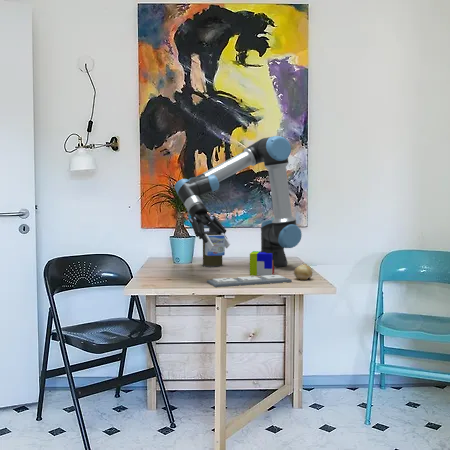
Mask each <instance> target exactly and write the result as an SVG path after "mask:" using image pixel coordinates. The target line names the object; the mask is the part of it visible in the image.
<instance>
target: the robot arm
mask: <svg viewBox="0 0 450 450" xmlns="http://www.w3.org/2000/svg"><path fill="white" fill-rule="evenodd" d="M291 152H292V146H291V144H290V142H289V140H288V139H286V138H285V137H284V136H279V135H274V136H269V137H263V138H261V139H259V140H256V141H255V142H253V143H252V144H251V145H248V146H247V147H246V148H244V149H243V151H242V152H241V153H238V154H237V155H234V156H233V157H231V158H229V159H227V160H225V161H223V162H221V163H220V164H217V165H215V166H213V167H211V168H210V169H208V170H206V171H204V172H202V173H201V174H199V175H197V176H194V177H190V178H189V179H187V178H181V179H179V180H178V181H176V183H175V185H174V191H176V194H177V196H178V197H179V199H180V200H181V202H182V203H183V205H184V207H185V209H186V210H187V212H188V214H189V216H190V218H189V220H188V222H189V223H190V224H191V226H192V229H193V232H194V235H195V237H196V238H198V239H199V240H202V242H203V241H204V243H206V245H207V247H208V248H209V250H211V249H212V248H213V246H214V245H213V244H212V242H211V240H210V239H209V237H208V235H207V234H205V226H207V228H209V227H210V228H211V229H213V230H214V231H215V232H216V233H217V234H218V235H224V236H225V249H228V248H229V247H230V245H231V243H230V241H229V240H228V237H227V235H226V233H227V229H226V228H225V227H224V226H223V224H222V223H220V221H219V219H217V216H215V215H212V216H210V214H209V213H208V209H207V208H206V206H205V204H204V203H203V201H202V199H201V198H200V197H202V196H204V195H207V194H210V193H214V192H215V191H218V190H219V189H220V182H222V181H223V180H225V179H227V178H229V177H232V176H233V175H235V174H237V173H239V172H240V171H242V170H244V169H247V168H248V167H250V166H252V167H254V166H256V165H258V164H261V163H264V165H263V166H264V167H265V168H266V169H267V170H268V178H269V185H270V192H271V200H272V208H273V209H272V210H273V216H274V218H273V219H271V220H264V221H262V222H261V225H260V226H261V227H260V237H261V238H260V242H261V243H260V246H261V247H260V251H264V252H274V268H282V267H287V266H288V259H287V256H286V253H285V249H293V248H294V247H296V246H298V245H299V243H300V242H301V240H302V236H303V235H302V234H303V233H302V230H301V228H300V227H299V226H298V225H297V220H296V218H295V217H294V216H293V213H292V205H291V198H290V197H291V196H290V189H289V188H290V187H289V182H288V174H287V166H288V164H289V157H290V155H291ZM204 234H205V235H204Z"/></svg>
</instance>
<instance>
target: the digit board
mask: <svg viewBox="0 0 450 450" xmlns="http://www.w3.org/2000/svg"><path fill="white" fill-rule="evenodd" d="M283 282H287V283H292V282H293V280H292V279H290V278H287V277H285V276H283V275H279V274H273V275H265V276H253V275H249V276H237V277H235V278H232V277H218V278H212V279H206V283H207V284H208V285H211V286H212V285H213V287H215V288H225V287H236V286H237V287H238V286H239V285H241V286H252V285H253V286H254V285H255V284H257V285H271V284H270V283H272V284H284V283H283Z"/></svg>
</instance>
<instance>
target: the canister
mask: <svg viewBox="0 0 450 450" xmlns="http://www.w3.org/2000/svg"><path fill="white" fill-rule="evenodd" d="M204 231H205V230H204ZM205 234H207V235H218V234H217V233H216V232H215V231H214V230H213V229H211V228H210V227H208V231H207V230H206V231H205ZM205 234H204V235H205ZM204 266H205V267H206V268H218V267H223V256H207V255H205V243H204V241H203V240H202V267H204Z"/></svg>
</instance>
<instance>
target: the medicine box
mask: <svg viewBox="0 0 450 450" xmlns="http://www.w3.org/2000/svg"><path fill="white" fill-rule="evenodd" d="M225 236H226V235H225ZM225 236H224V235H208V237H209V239H210V240H211V242H212V244H213V245H214V246H213V248H212V249H211V250H209V248H208V247H207V245H206V243H205V255H207V256H222V257H224V256H225V254H226V253H225V252H226V251H225V249H226V248H225Z"/></svg>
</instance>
